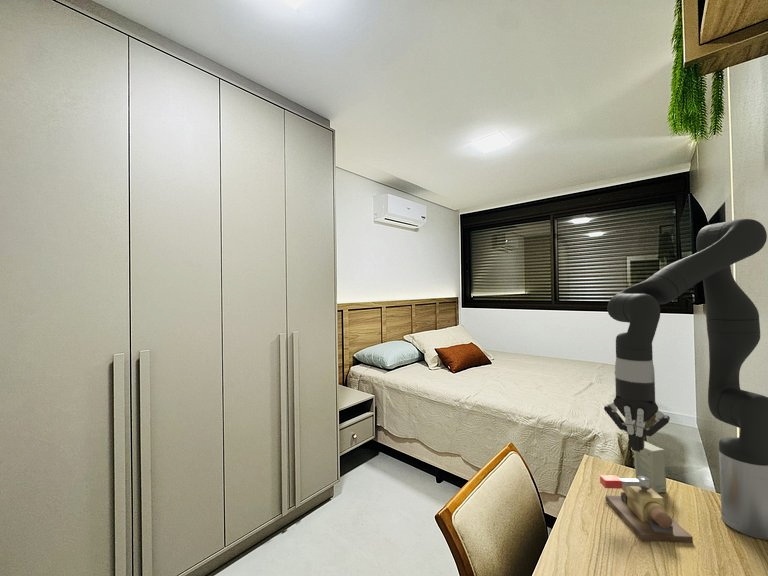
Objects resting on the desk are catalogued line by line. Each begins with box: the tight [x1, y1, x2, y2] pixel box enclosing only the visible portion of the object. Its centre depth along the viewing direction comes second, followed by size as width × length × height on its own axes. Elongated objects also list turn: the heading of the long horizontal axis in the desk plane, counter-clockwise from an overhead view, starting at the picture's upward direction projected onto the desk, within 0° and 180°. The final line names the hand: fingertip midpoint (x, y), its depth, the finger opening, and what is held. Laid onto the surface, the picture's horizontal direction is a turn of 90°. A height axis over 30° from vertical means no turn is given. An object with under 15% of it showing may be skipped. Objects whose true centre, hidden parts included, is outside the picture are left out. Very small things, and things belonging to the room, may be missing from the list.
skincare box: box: [633, 440, 668, 494], centre depth 99 cm, size 6×4×12 cm
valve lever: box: [599, 474, 651, 490], centre depth 85 cm, size 11×3×2 cm, turn 84°
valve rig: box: [605, 486, 694, 544], centre depth 85 cm, size 15×11×8 cm
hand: (636, 450), depth 79 cm, fingers closed
